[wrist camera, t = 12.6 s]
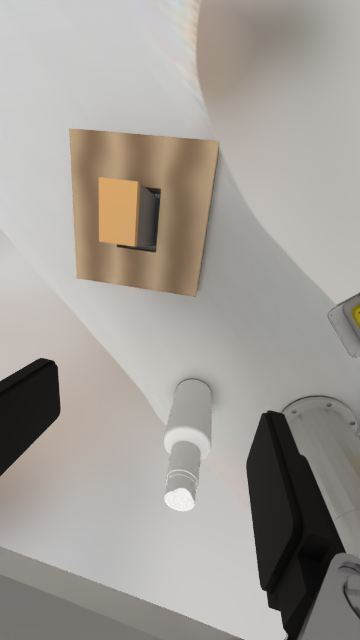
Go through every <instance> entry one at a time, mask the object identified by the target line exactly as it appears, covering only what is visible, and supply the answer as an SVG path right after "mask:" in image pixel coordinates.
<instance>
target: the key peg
mask: <svg viewBox="0 0 360 640" xmlns="http://www.w3.org/2000/svg"><path fill="white" fill-rule="evenodd" d="M159 209H160V199H159V198H157V197H156V196H155V195H154V194H152V193H151V192H150V191H149V190H147V189H146V188H145V187H144V186H143V185H141V184H140V183H139V182H137V181H128V180H120V179H111V178H103V177H99V242H106V243H113V244H120V245H127V246H133V247H138V246H157V234H158V222H159Z"/></svg>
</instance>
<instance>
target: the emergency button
mask: <svg viewBox="0 0 360 640" xmlns="http://www.w3.org/2000/svg"><path fill="white" fill-rule="evenodd" d="M328 319H329V320H330V322H331V324H332V325H333V327H334V329H335V331H336V332H337V334H338V336H339V337H340V339H341V341H342V343H343V344H344V346H345V348H346V349H347V351H348V353H349V355H351V356H352V357H355V358H357V357H360V293H358V294H356V295H354V296H352V297H350V298H349V299H347V300H345V301H343V302H341V303H339V304H337V307H335V308H333V309H332V310H331V311H329V313H328Z"/></svg>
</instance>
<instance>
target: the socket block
mask: <svg viewBox="0 0 360 640" xmlns="http://www.w3.org/2000/svg"><path fill="white" fill-rule="evenodd" d="M69 132H70V152H71V172H72V191H73V211H74V231H75V250H76V270H77V278H80V279H86V280H92V281H99V282H105V283H111V284H118V285H124V286H131V287H137V288H143V289H150V290H156V291H162V292H169V293H175V294H181V295H188V296H194V297H196V294H197V290H198V283H199V277H200V270H201V264H202V257H203V251H204V244H205V238H206V231H207V225H208V219H209V212H210V206H211V199H212V193H213V186H214V180H215V173H216V167H217V161H218V154H219V141H210V140H199V139H187V138H175V137H164V136H152V135H140V134H129V133H117V132H105V131H93V130H82V129H70V128H69ZM99 177H103V178H111V179H120V180H128V181H137V182H139V183H140V184H141V185H143V186H144V187H145V188H146V189H147V190H149V191H150V192H151V193H156V194H161V196H160V209H159V222H158V234H157V247H156V251H153V250H146V249H138V248H131V247H127V245H120V244H113V243H106V242H99Z"/></svg>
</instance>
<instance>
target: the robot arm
mask: <svg viewBox="0 0 360 640" xmlns="http://www.w3.org/2000/svg"><path fill="white" fill-rule="evenodd" d="M59 414H60V396H59V380H58V367H57V365H56V364H55V362H54V361H52V360H48V359H44V358H40V359H38V360H36V361H34V362H32V363H31V364H29V365H27V366H26V367H24V368H22V369H20V370H19V371H17V372H15V373H14V374H12V375H10V376H8V377H7V378H5V379H3V380H2V381H0V476H1V475H2V474H3V473H4V472H5V471H6V470H7V469H8V468H9V467H10V466H11V465H12V464H13V463H14V462H15V461H16V460H17V459H18V457H20V456H21V455H22V454H23V453H24V452H25V451H26V450H27V448H29V446H30V445H31V444H32V443H33V442H34V441H35V440H36V439H37V438H38V437H39V436H40V435H41V434H42V433H43V432H44V431H45V430H46V429H47V428H48V427H49V426H50V425H51V424H52V423H53V422H54V421H55V420H56V419H57V418H58V416H59ZM357 429H358V423H357V420H356V417H355V416H354V414H353V413H352V412H351V410H350V409H349V408H348V407H347V406H346V405H344V404H343V403H341V402H339V401H337V400H335V399H332V398H327V397H309V398H304V399H301V400H298V401H296V402H294V403H292V404H291V405H289V406H288V407H287V408H286V409H285V410H284V411H283V412H282V413H279V412H274V411H270V410H269V411H268V412H267V413H263V414H262V416H261V419H260V422H259V425H258V428H257V431H256V434H255V437H254V440H253V443H252V446H251V449H250V453H249V456H248V459H247V465H246V469H247V478H248V486H249V495H250V503H251V512H252V520H253V529H254V537H255V546H256V554H257V563H258V571H259V579H260V585H261V588H262V590H264V591H267V598H268V605H269V608H272V609H275V610H278V611H281V617H282V623H283V628H284V630H285V631H286V633H287V634H286V637H285V639H284V640H360V438H359V437H358V436H357V434H356V433H357ZM0 640H244V639H241V638H239V637H236V636H233V635H231V634H229V633H226V632H224V631H221V630H219V629H216V628H214V627H212V626H209V625H206V624H204V623H202V622H199V621H197V620H194V619H192V618H189V617H187V616H184V615H182V614H179V613H177V612H174V611H171V610H169V609H166V608H163V607H161V606H158V605H155V604H153V603H150V602H147V601H145V600H142V599H139V598H137V597H134V596H132V595H129V594H126V593H124V592H121V591H118V590H116V589H113V588H110V587H107V586H105V585H102V584H100V583H97V582H94V581H92V580H89V579H86V578H84V577H81V576H78V575H76V574H73V573H70V572H68V571H64V570H62V569H59V568H57V567H54V566H51V565H49V564H46V563H43V562H40V561H38V560H35V559H32V558H29V557H27V556H24V555H22V554H19V553H16V552H13V551H11V550H8V549H5V548H3V547H0Z"/></svg>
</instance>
